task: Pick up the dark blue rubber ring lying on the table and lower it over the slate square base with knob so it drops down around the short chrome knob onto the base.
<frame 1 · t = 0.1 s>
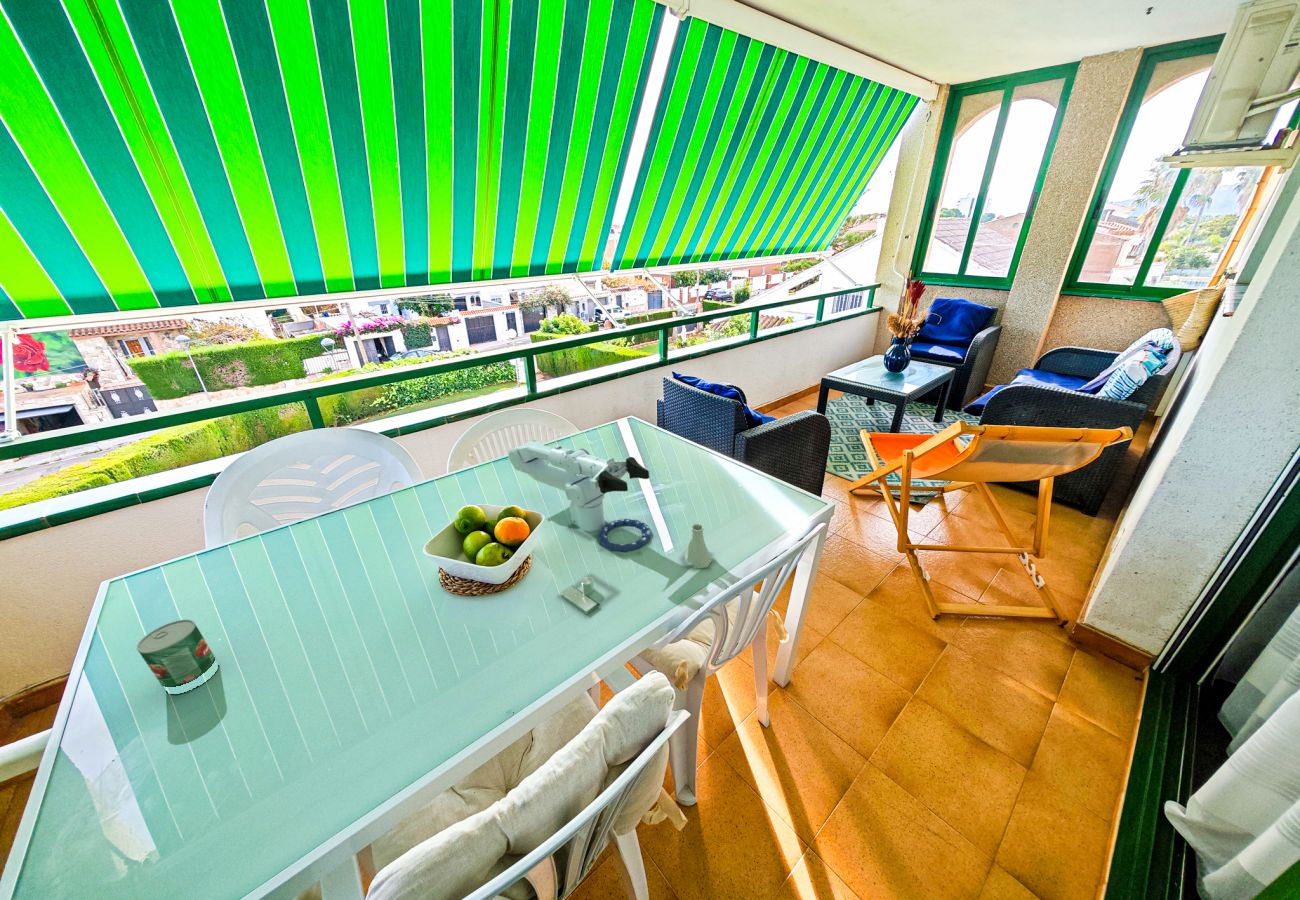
hand: (637, 480, 111), 22 cm above the table, tool horizontal, fingers open, 7 cm apart
ring: (624, 535, 125), point 1 cm above the table, touching arm
canned tomato: (193, 677, 89), on the table
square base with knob: (588, 594, 106), on the table
flask: (697, 560, 116), on the table
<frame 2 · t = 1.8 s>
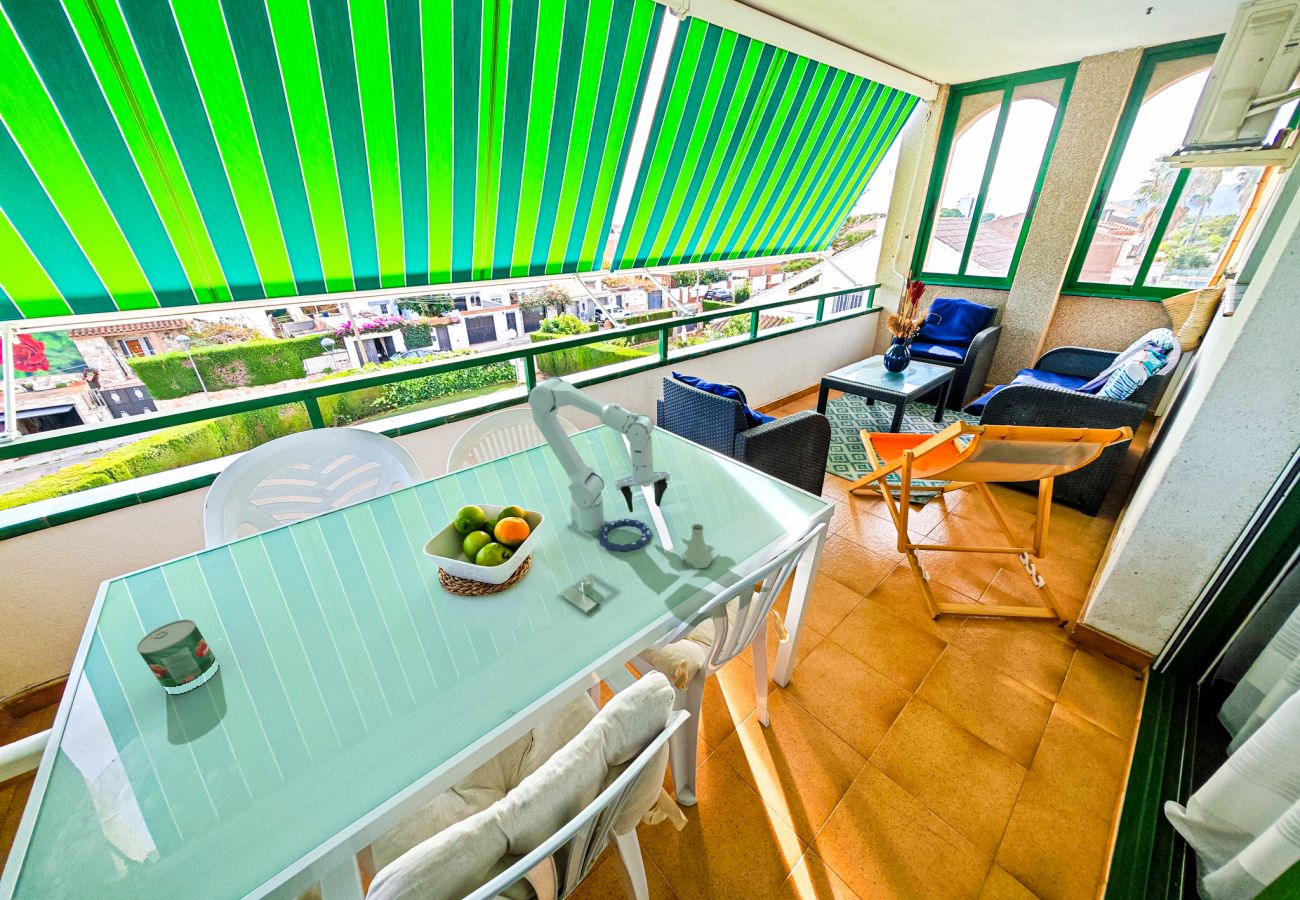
hand: (644, 507, 124), 9 cm above the table, tool pointing down, fingers open, 7 cm apart
nothing on the table moved.
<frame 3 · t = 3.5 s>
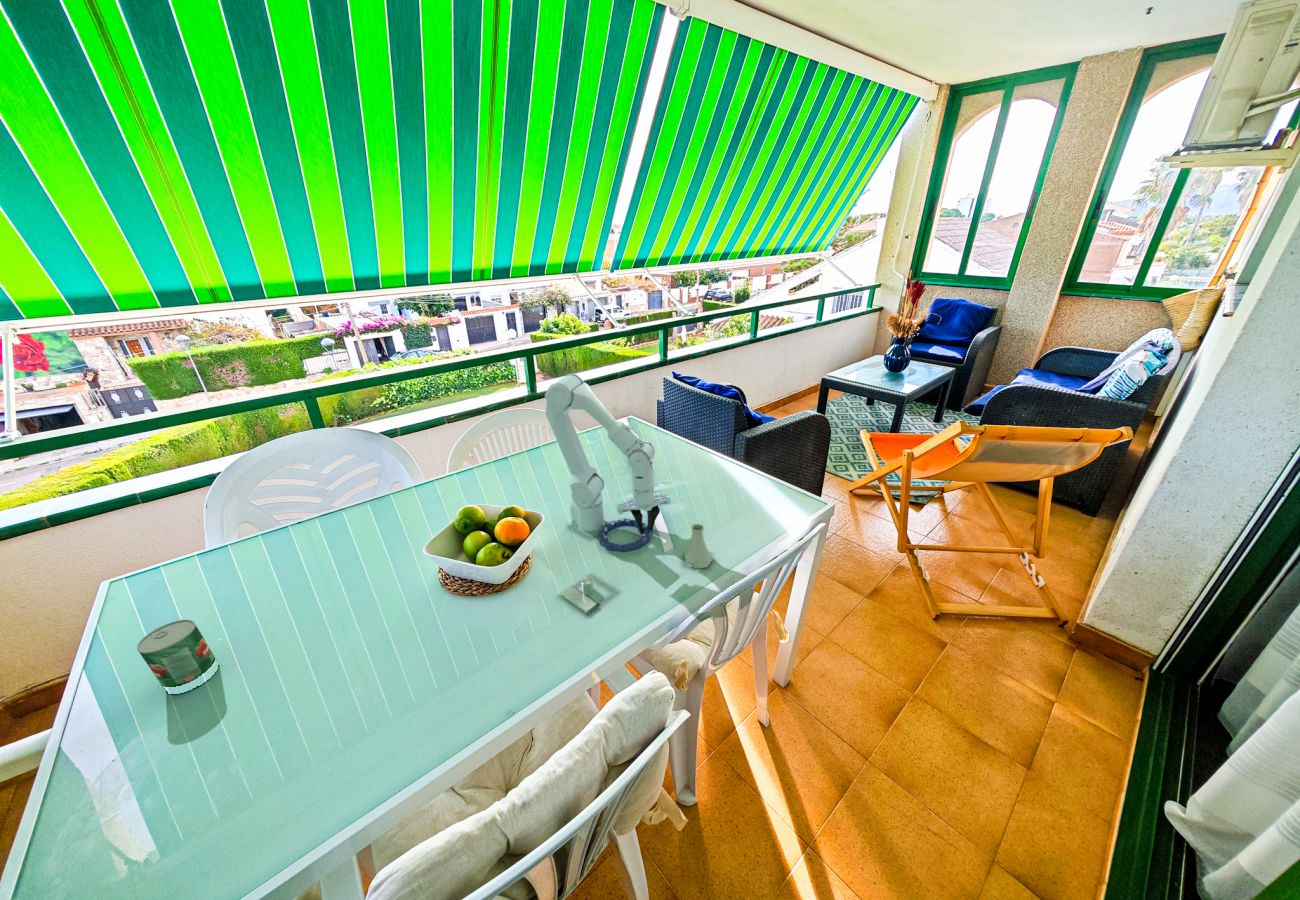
hand: (645, 530, 127), 1 cm above the table, tool pointing down, fingers closed on ring, 2 cm apart
ring: (624, 535, 125), point 1 cm above the table, touching arm, gripper
everything else where it was.
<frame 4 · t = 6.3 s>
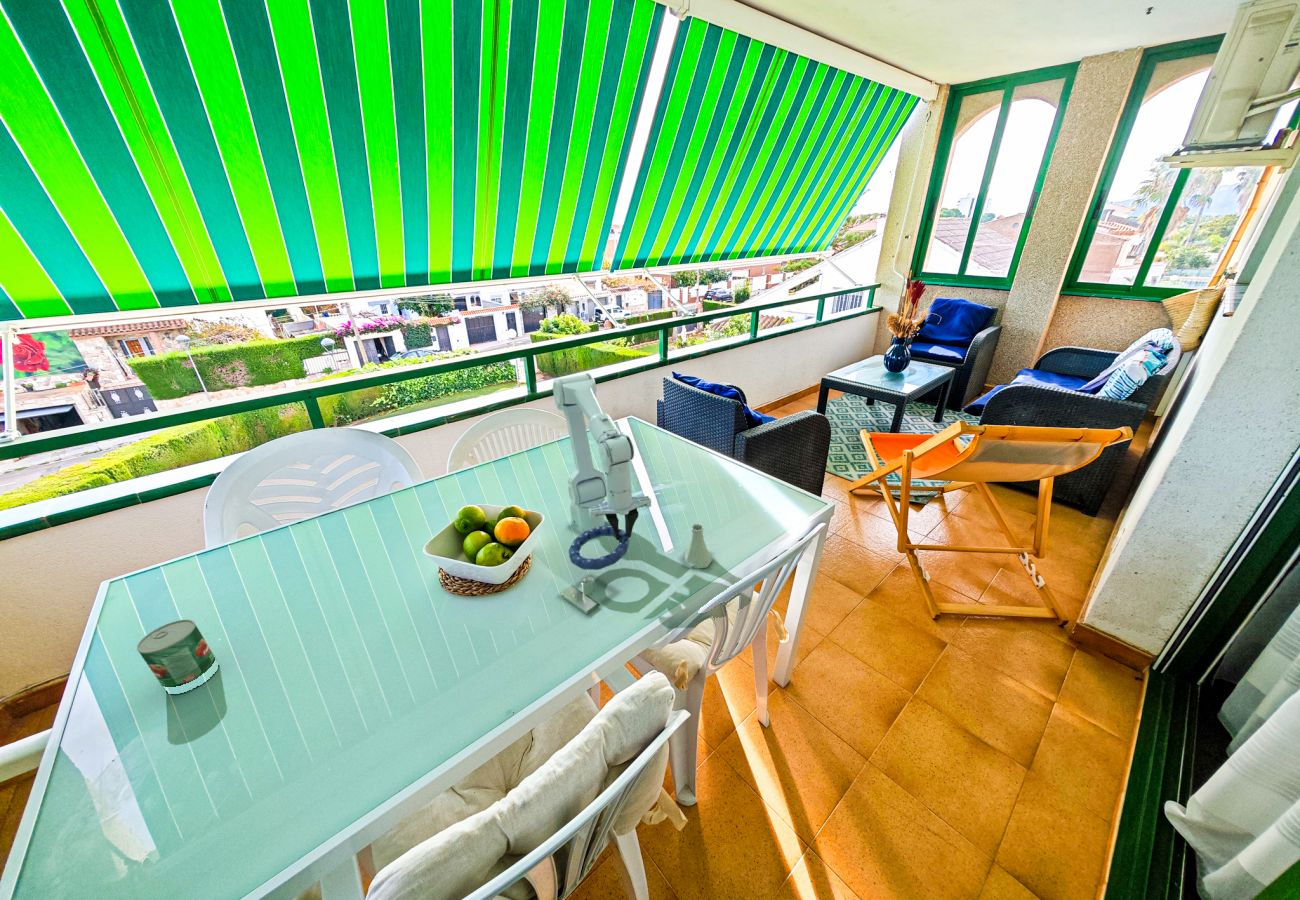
hand: (622, 536, 110), 10 cm above the table, tool pointing down, fingers closed on ring, 2 cm apart
ring: (599, 546, 109), point 9 cm above the table, tilted 8°, touching gripper
everything else where it was.
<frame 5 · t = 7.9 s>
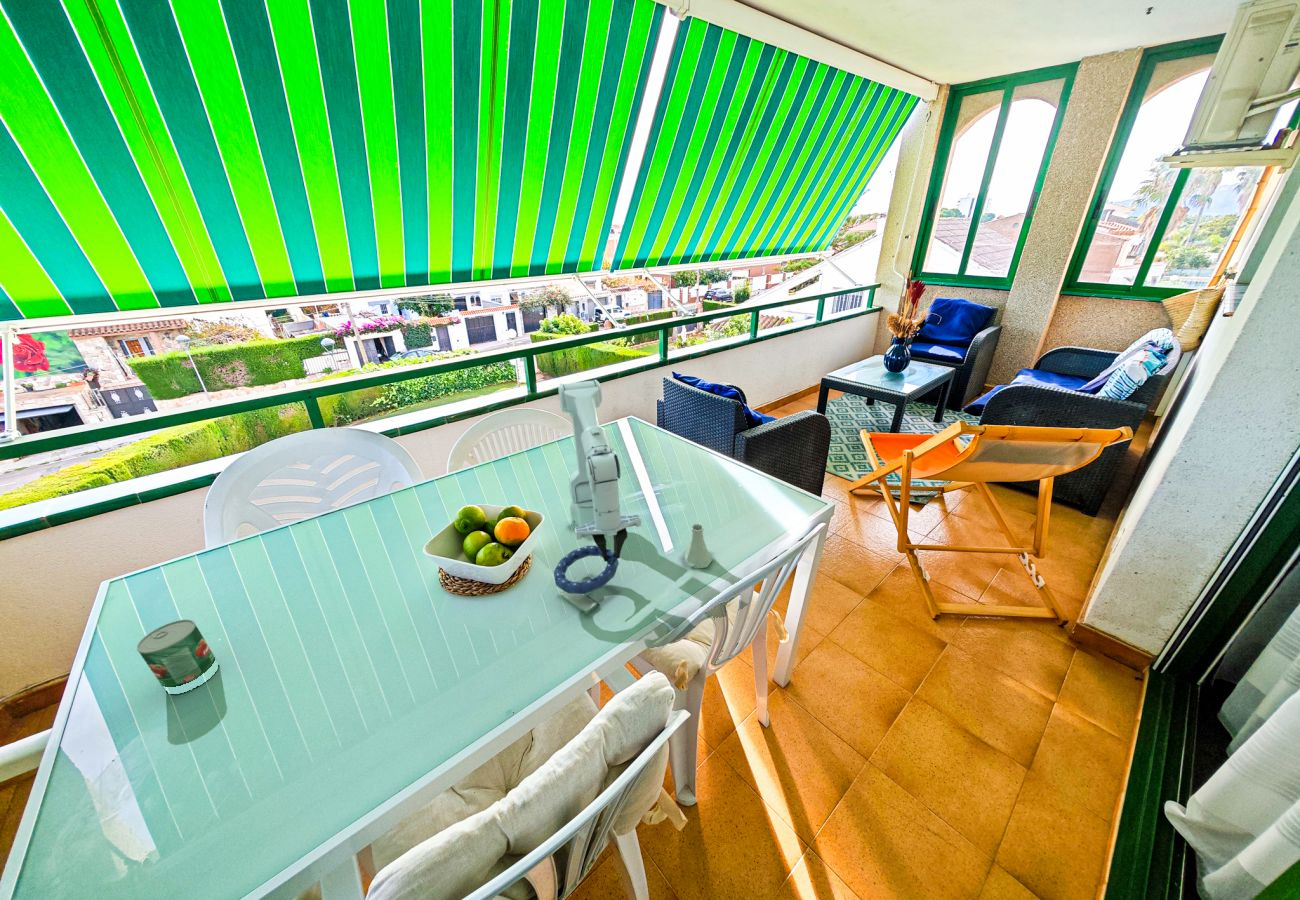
hand: (611, 557, 104), 9 cm above the table, tool pointing down, fingers closed on ring, 2 cm apart
ring: (586, 568, 103), point 8 cm above the table, tilted 8°, touching gripper
everything else where it was.
when the fingers open (4 cm above the table, at t = 9.3 s): ring stays where it is, resting on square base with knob.
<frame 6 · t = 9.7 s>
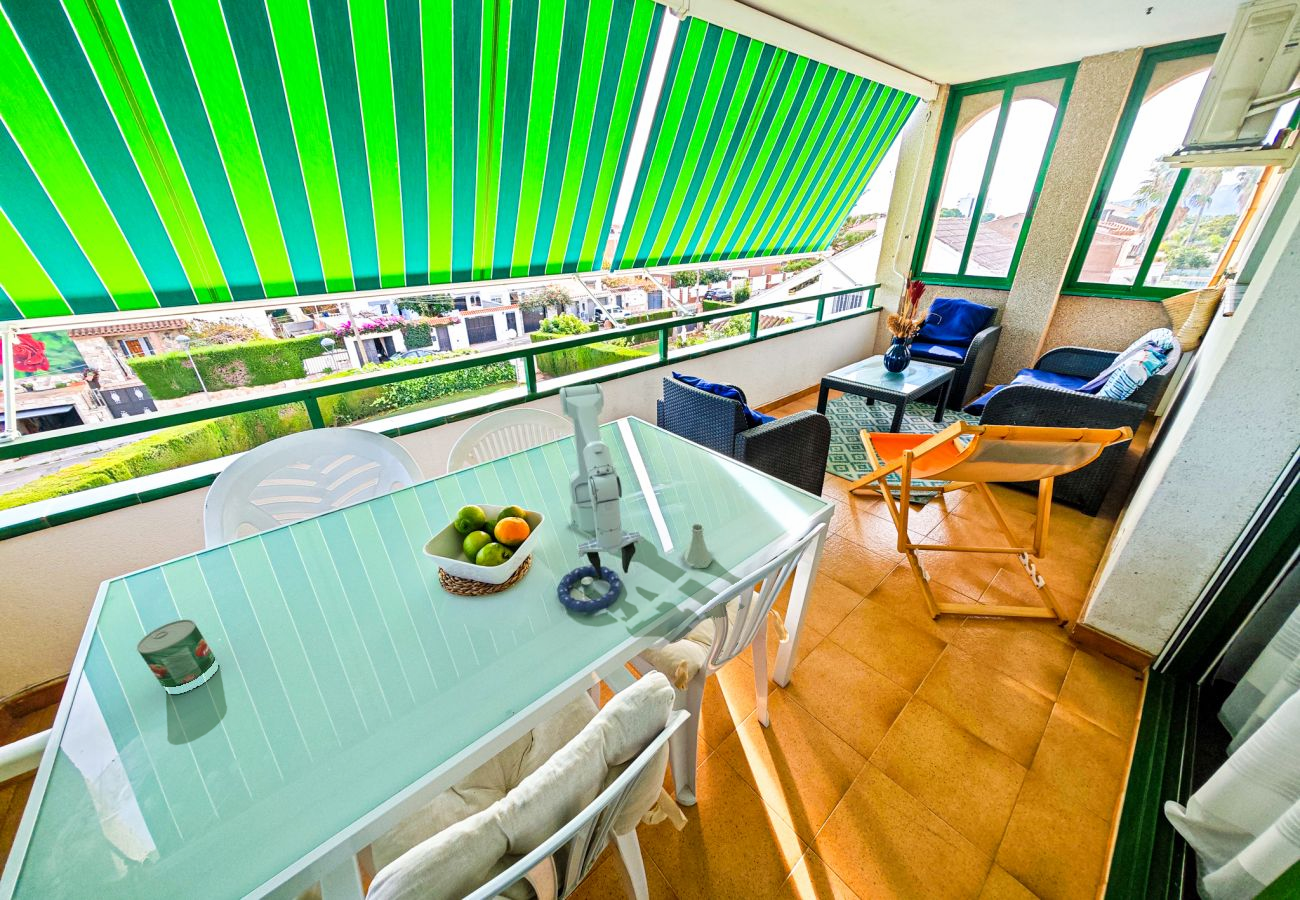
hand: (612, 573, 106), 4 cm above the table, tool pointing down, fingers open, 5 cm apart
ring: (589, 587, 105), point 2 cm above the table, touching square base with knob
everything else where it was.
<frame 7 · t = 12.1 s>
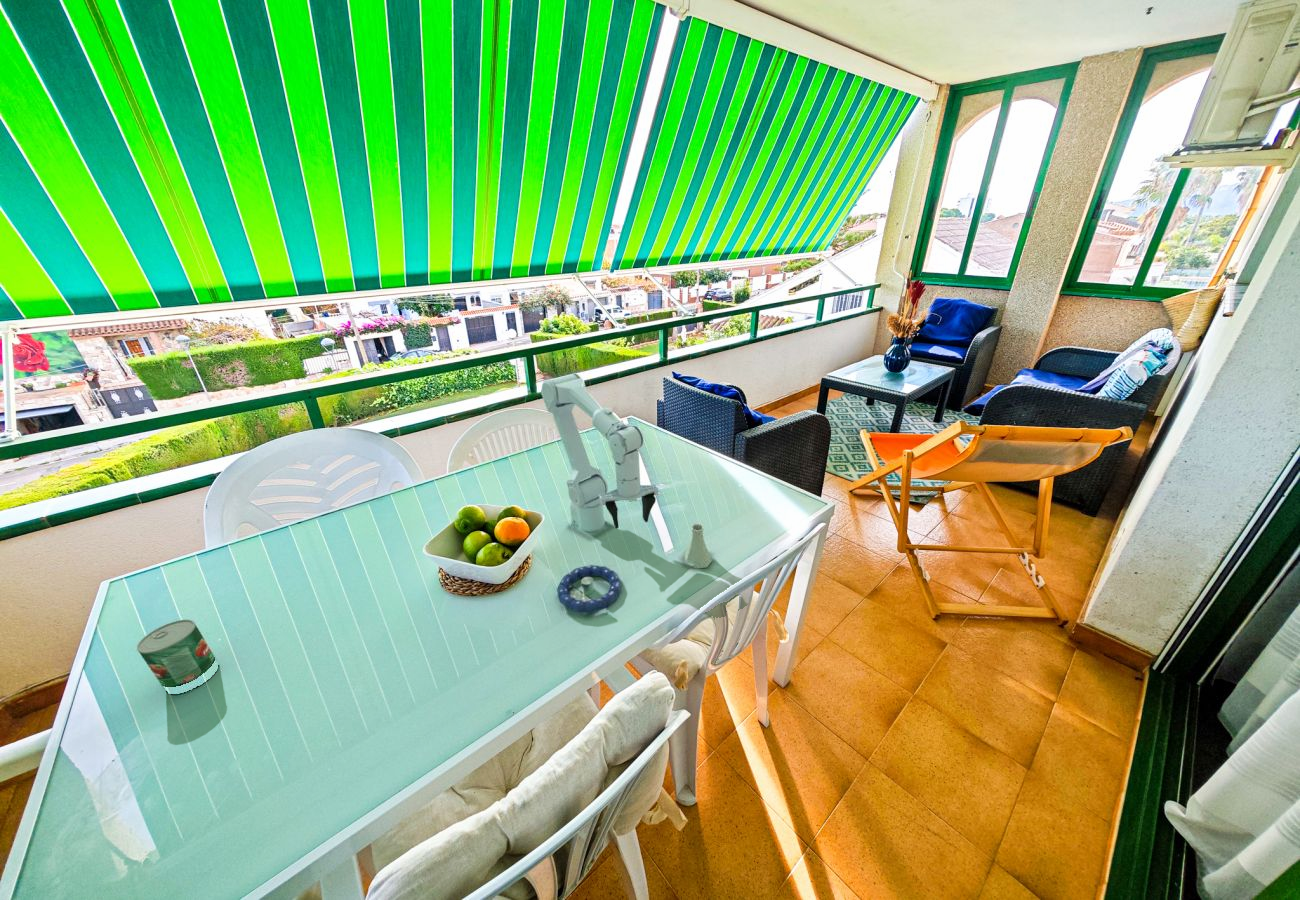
hand: (630, 523, 116), 9 cm above the table, tool pointing down, fingers open, 7 cm apart
nothing on the table moved.
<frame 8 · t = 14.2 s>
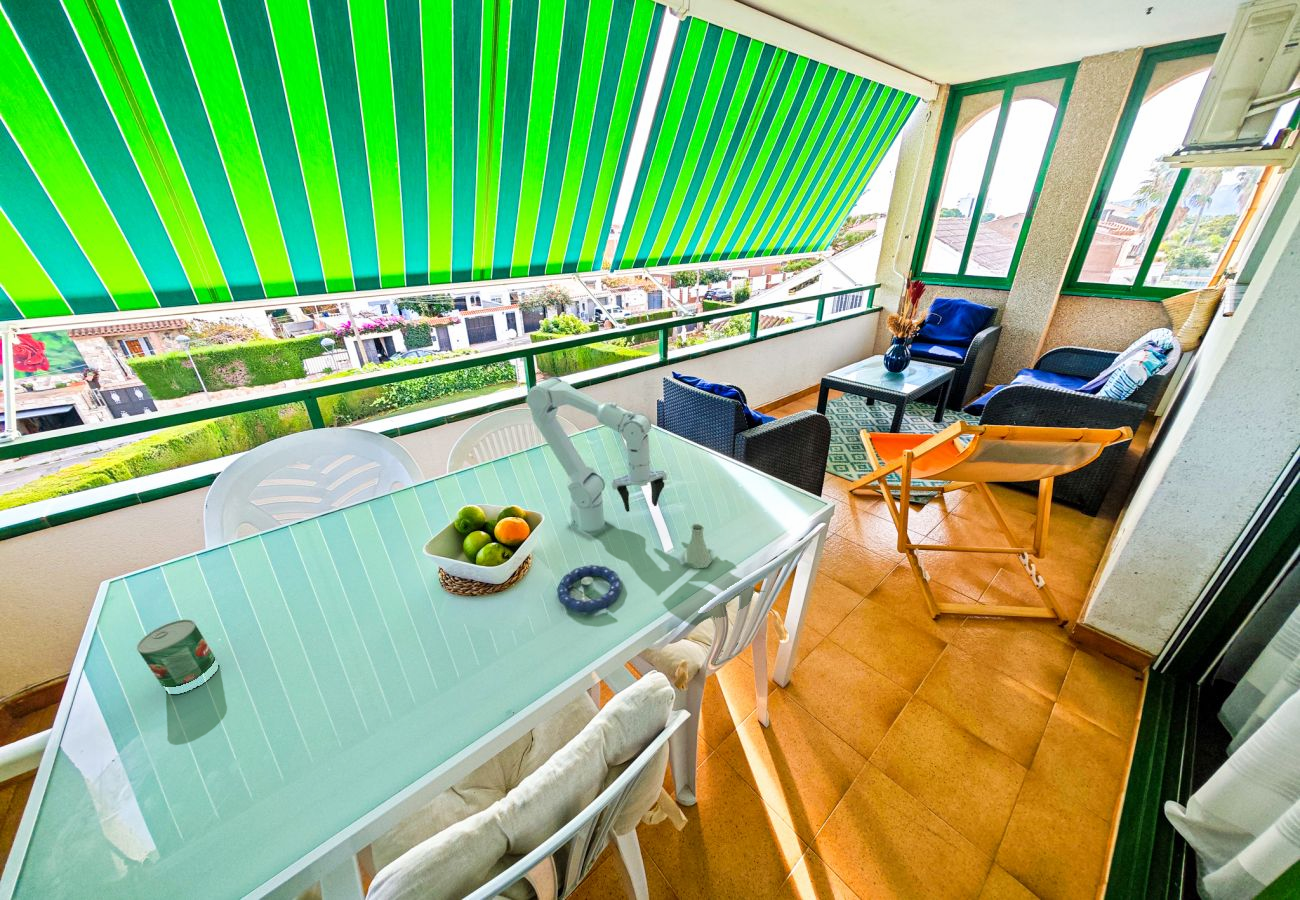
hand: (640, 507, 123), 9 cm above the table, tool pointing down, fingers open, 7 cm apart
nothing on the table moved.
at the end: ring 0.4 cm from the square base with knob (horizontally); ring point 2.2 cm above the table; the gripper is holding nothing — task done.
